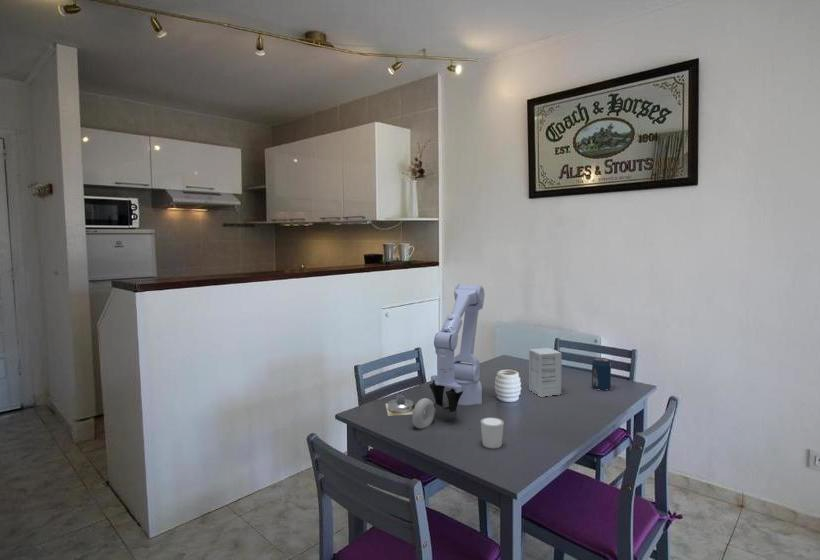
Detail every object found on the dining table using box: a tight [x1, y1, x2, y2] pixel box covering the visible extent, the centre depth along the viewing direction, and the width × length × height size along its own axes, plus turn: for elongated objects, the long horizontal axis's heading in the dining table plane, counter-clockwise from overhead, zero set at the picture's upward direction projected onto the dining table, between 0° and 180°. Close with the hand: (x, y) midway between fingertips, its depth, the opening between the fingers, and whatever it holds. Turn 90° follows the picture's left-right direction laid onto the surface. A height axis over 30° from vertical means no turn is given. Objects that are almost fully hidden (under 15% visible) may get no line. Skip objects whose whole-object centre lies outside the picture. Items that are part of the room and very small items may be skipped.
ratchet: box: [387, 394, 447, 413], centre depth 169 cm, size 21×9×4 cm, turn 97°
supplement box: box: [528, 347, 563, 398], centre depth 186 cm, size 10×9×17 cm
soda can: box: [591, 357, 612, 390], centre depth 190 cm, size 7×7×12 cm
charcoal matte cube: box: [435, 400, 458, 423], centre depth 159 cm, size 5×5×6 cm
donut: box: [411, 397, 436, 430], centre depth 153 cm, size 10×4×10 cm, turn 143°
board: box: [384, 402, 436, 417], centre depth 169 cm, size 22×12×1 cm, turn 97°
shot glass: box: [480, 416, 505, 449], centre depth 141 cm, size 7×7×7 cm
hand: (445, 407), depth 159 cm, fingers open, 7 cm apart
